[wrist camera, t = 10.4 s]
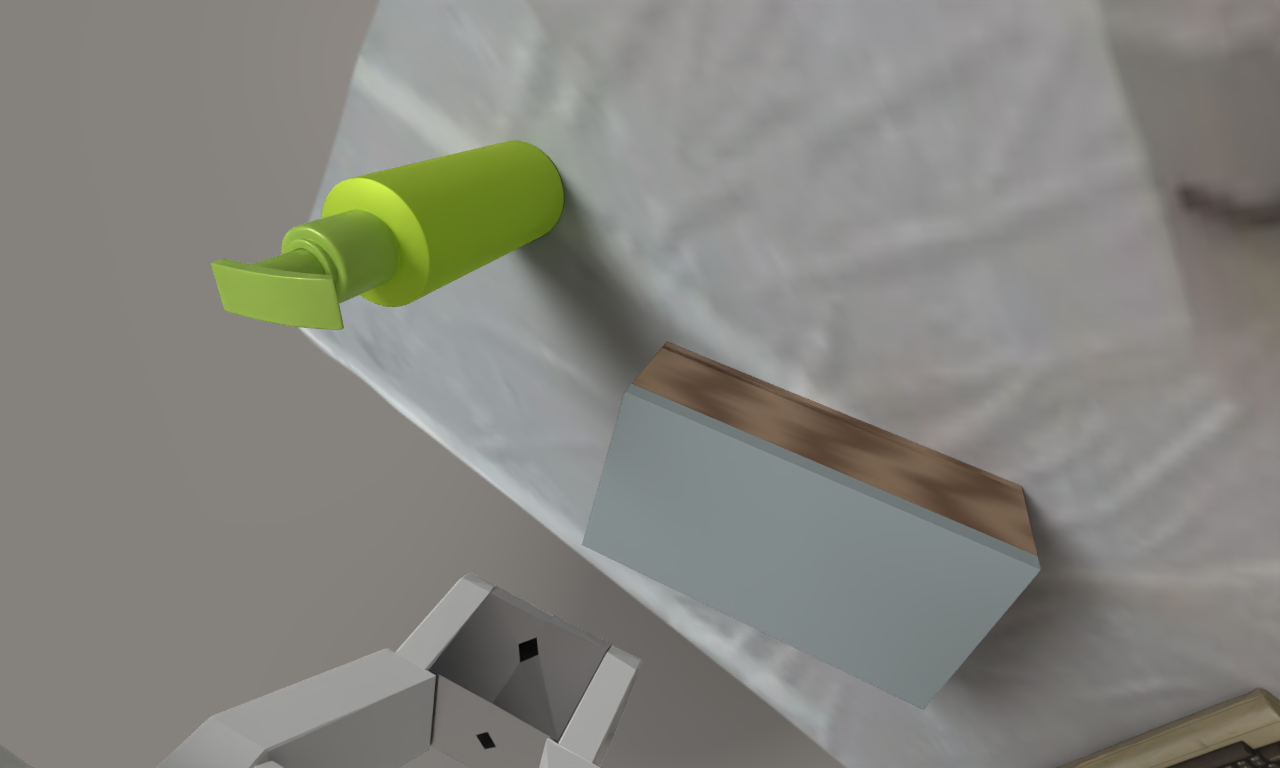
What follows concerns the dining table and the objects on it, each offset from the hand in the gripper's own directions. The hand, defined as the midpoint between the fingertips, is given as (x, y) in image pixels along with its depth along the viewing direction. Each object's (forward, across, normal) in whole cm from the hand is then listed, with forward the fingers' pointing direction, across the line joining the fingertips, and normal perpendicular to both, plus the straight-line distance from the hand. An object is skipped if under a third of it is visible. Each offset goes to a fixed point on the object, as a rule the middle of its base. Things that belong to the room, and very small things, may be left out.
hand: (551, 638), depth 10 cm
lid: (+23, -5, +17) cm, 29 cm away
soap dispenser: (+30, +17, +4) cm, 34 cm away
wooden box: (+29, -5, +17) cm, 34 cm away
